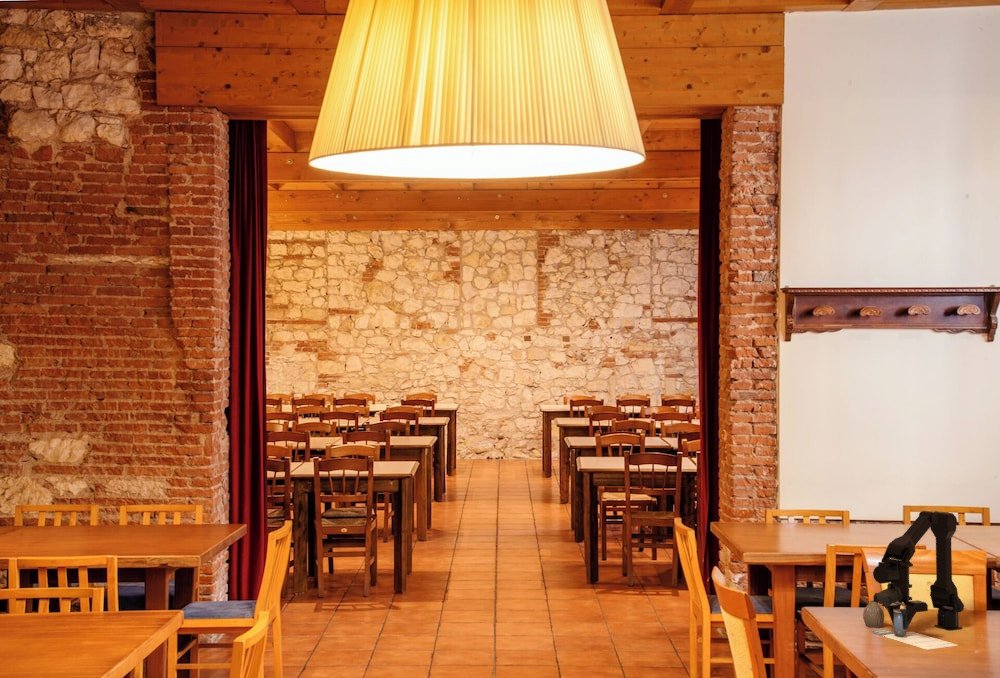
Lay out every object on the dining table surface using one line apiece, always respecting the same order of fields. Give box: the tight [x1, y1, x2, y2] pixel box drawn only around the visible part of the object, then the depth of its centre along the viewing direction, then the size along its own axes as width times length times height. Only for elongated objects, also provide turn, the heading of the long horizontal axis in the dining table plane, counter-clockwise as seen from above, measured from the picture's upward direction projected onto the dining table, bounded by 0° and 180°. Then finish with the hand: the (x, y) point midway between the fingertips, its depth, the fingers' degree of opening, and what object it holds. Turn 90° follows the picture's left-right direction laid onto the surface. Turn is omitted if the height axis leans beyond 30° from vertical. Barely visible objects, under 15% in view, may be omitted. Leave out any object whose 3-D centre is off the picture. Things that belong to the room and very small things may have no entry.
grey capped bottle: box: [893, 608, 908, 636], centre depth 345 cm, size 4×4×8 cm
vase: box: [862, 599, 885, 629], centre depth 360 cm, size 7×7×9 cm
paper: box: [882, 631, 959, 651], centre depth 340 cm, size 13×19×1 cm
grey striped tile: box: [869, 628, 894, 636], centre depth 350 cm, size 6×5×1 cm
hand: (900, 628), depth 345 cm, fingers closed on grey capped bottle, 4 cm apart
